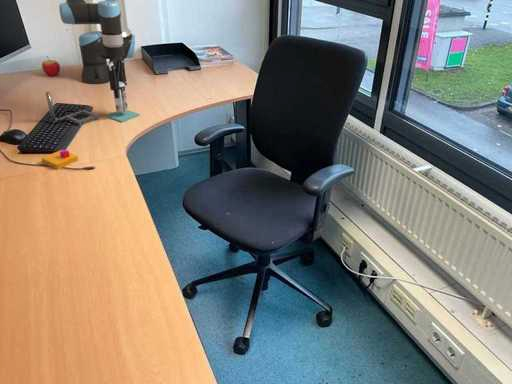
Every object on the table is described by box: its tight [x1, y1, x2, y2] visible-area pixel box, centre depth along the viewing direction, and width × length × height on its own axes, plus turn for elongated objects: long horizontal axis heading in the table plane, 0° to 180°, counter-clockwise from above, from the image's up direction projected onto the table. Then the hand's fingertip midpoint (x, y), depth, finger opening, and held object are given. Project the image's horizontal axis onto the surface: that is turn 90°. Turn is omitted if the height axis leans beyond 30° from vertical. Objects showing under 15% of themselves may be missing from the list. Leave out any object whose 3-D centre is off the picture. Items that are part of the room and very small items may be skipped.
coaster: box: [104, 109, 141, 123], centre depth 177 cm, size 10×10×1 cm
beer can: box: [114, 82, 129, 113], centre depth 173 cm, size 5×5×12 cm
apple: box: [41, 55, 61, 77], centre depth 218 cm, size 8×8×10 cm
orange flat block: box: [41, 148, 79, 170], centre depth 140 cm, size 8×8×4 cm
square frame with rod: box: [45, 91, 99, 126], centre depth 168 cm, size 14×14×12 cm
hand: (121, 102), depth 174 cm, fingers closed on beer can, 5 cm apart
